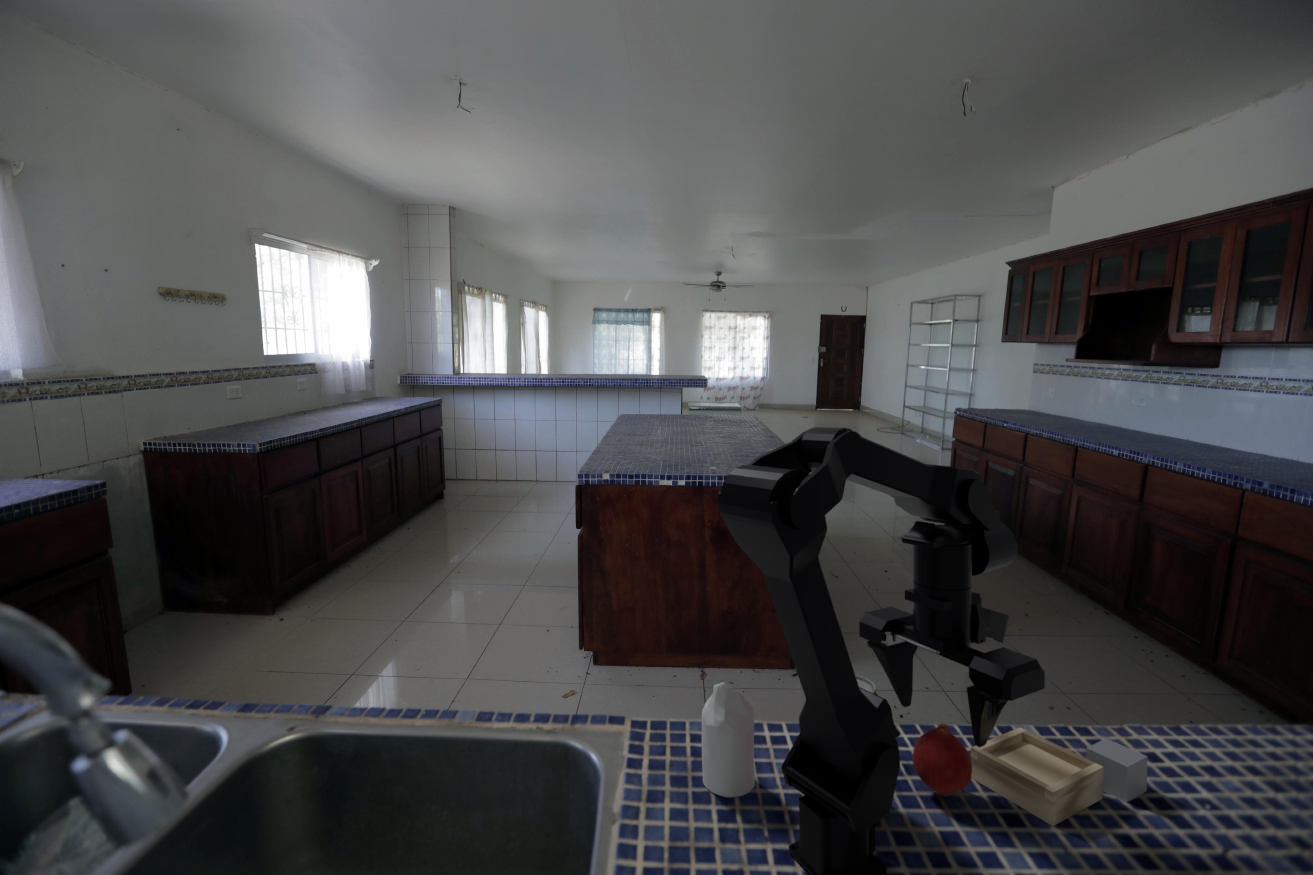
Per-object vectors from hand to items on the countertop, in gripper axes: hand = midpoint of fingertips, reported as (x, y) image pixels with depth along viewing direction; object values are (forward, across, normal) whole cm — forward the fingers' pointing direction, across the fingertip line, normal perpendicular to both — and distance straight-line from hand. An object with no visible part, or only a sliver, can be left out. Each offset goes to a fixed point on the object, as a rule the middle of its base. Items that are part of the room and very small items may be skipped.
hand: (941, 724), depth 64 cm
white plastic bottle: (+8, +13, +19) cm, 24 cm away
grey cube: (+8, -8, -18) cm, 21 cm away
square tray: (+8, -4, -10) cm, 14 cm away
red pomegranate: (+8, 0, 0) cm, 8 cm away
